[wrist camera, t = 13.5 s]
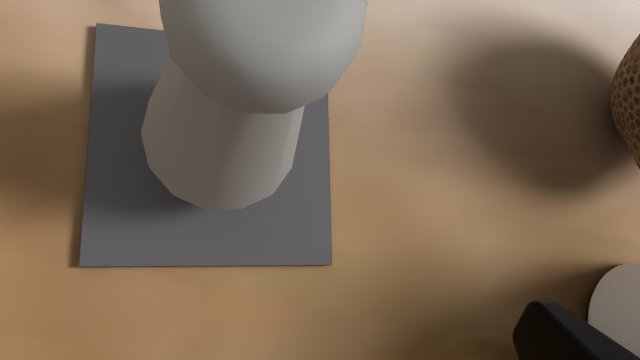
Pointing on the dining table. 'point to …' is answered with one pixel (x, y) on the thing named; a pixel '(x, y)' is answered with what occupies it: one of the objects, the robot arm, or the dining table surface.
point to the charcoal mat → (172, 212)
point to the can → (618, 306)
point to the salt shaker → (242, 91)
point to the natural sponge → (628, 99)
